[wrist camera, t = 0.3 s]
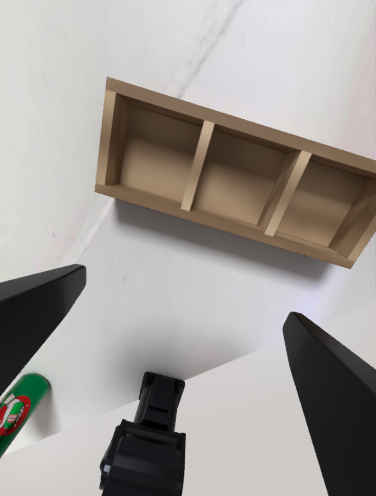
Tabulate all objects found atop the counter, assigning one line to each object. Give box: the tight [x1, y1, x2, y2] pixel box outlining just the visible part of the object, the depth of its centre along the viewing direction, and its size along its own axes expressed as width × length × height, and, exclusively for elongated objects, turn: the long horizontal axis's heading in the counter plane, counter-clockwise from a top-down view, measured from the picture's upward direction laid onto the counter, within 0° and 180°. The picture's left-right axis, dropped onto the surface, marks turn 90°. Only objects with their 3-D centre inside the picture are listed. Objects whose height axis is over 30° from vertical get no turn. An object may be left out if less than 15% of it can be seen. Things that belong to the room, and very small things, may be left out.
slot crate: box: [95, 77, 376, 269], centre depth 19 cm, size 9×24×4 cm, turn 74°
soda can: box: [0, 373, 49, 458], centre depth 29 cm, size 5×5×12 cm
